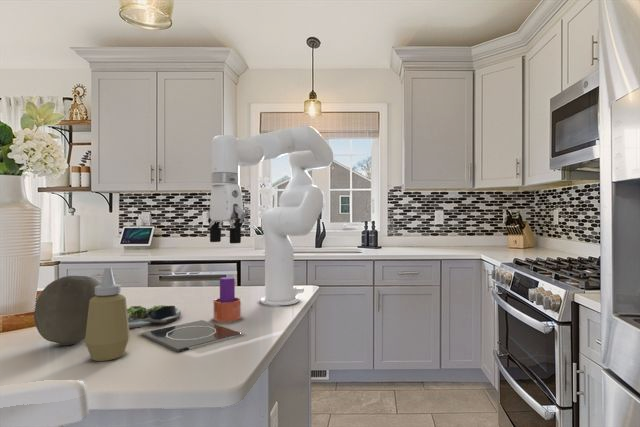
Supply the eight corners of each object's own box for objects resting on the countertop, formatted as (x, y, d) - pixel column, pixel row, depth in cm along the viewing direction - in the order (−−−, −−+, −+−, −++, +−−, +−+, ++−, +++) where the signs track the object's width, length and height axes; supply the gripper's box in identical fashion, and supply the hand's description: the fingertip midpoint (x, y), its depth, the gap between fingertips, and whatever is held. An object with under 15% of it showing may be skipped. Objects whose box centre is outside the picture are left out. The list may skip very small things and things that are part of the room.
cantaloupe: (89, 351, 84) (89, 280, 84) (18, 353, 83) (18, 281, 83) (118, 332, 98) (118, 271, 98) (58, 334, 97) (58, 272, 97)
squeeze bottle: (138, 352, 83) (138, 266, 83) (106, 366, 76) (106, 271, 76) (109, 348, 86) (109, 264, 86) (74, 361, 78) (75, 269, 78)
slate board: (201, 322, 107) (201, 319, 107) (241, 335, 95) (241, 332, 95) (141, 335, 96) (141, 332, 96) (178, 352, 83) (178, 348, 83)
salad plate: (91, 333, 97) (91, 314, 97) (111, 315, 114) (111, 299, 115) (175, 327, 102) (175, 309, 102) (182, 311, 119) (182, 296, 119)
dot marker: (229, 315, 112) (229, 276, 112) (237, 317, 110) (237, 278, 110) (216, 318, 109) (216, 278, 110) (225, 320, 107) (225, 279, 107)
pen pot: (230, 315, 115) (230, 296, 115) (246, 319, 110) (246, 299, 110) (208, 320, 109) (208, 300, 109) (223, 325, 104) (223, 303, 104)
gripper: (255, 179, 107) (255, 243, 107) (220, 183, 119) (219, 241, 119) (231, 177, 102) (231, 244, 101) (197, 182, 114) (196, 242, 113)
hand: (225, 242), depth 110 cm, fingers open, 9 cm apart
